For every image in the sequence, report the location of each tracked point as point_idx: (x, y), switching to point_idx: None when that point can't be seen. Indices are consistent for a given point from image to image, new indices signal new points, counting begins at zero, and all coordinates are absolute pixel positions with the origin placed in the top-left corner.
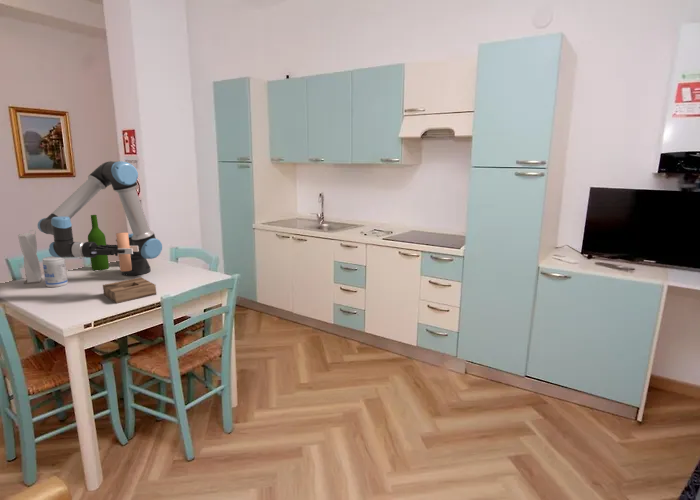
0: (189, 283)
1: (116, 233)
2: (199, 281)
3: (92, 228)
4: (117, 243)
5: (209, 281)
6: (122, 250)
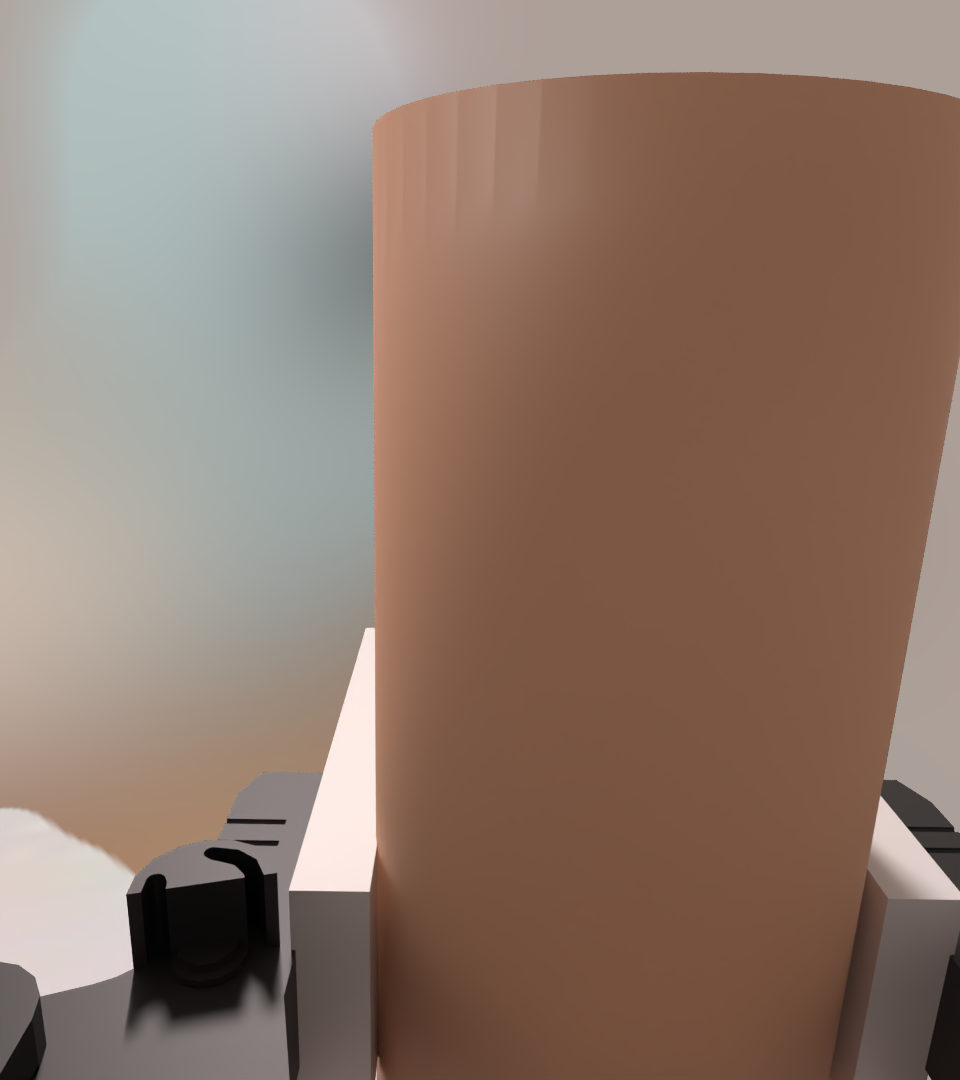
0: (52, 980)
1: (835, 80)
2: (15, 913)
3: None
4: (881, 726)
5: (67, 842)
6: (920, 801)
